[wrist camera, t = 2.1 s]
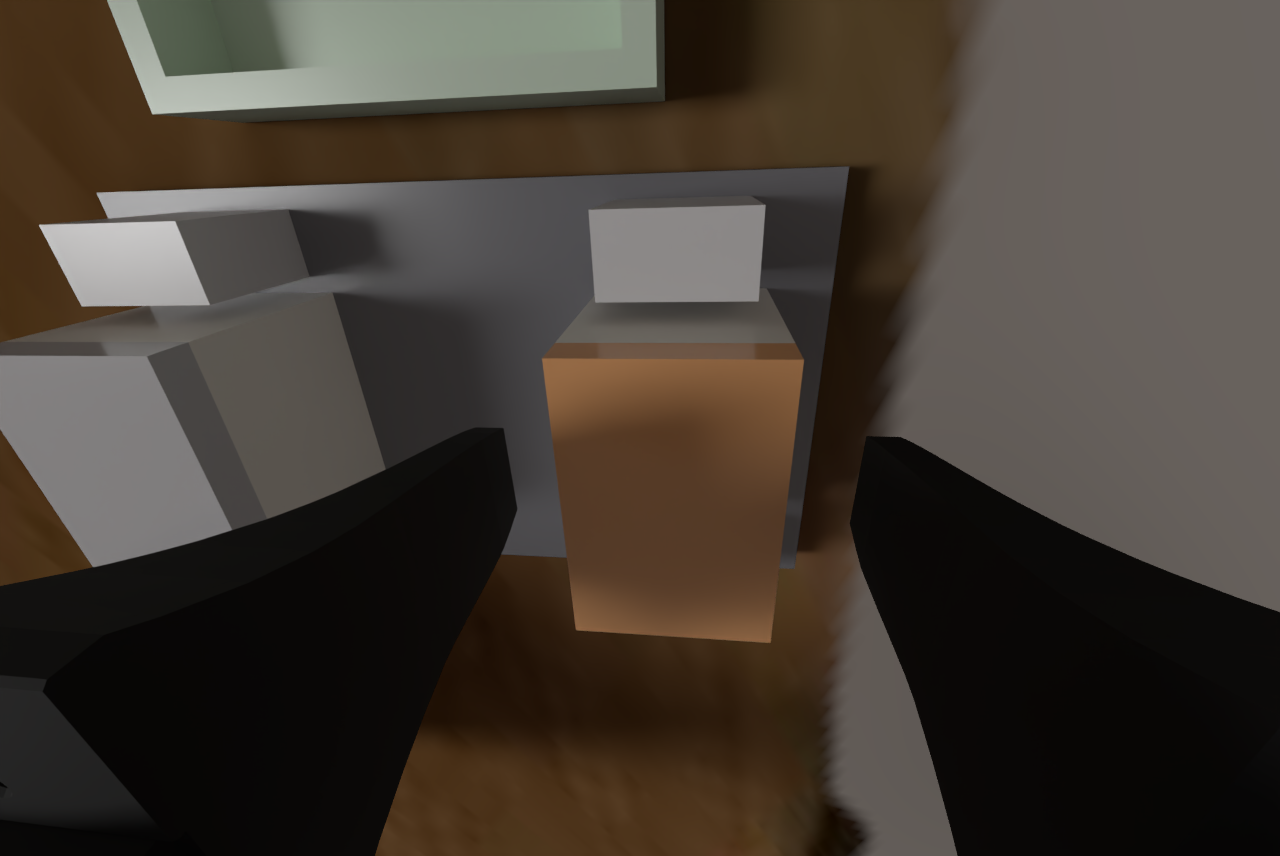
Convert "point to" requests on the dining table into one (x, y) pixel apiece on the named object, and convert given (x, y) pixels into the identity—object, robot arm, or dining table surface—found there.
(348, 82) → the tray
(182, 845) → the robot arm
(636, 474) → the block
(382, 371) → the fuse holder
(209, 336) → the block
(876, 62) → the dining table surface
